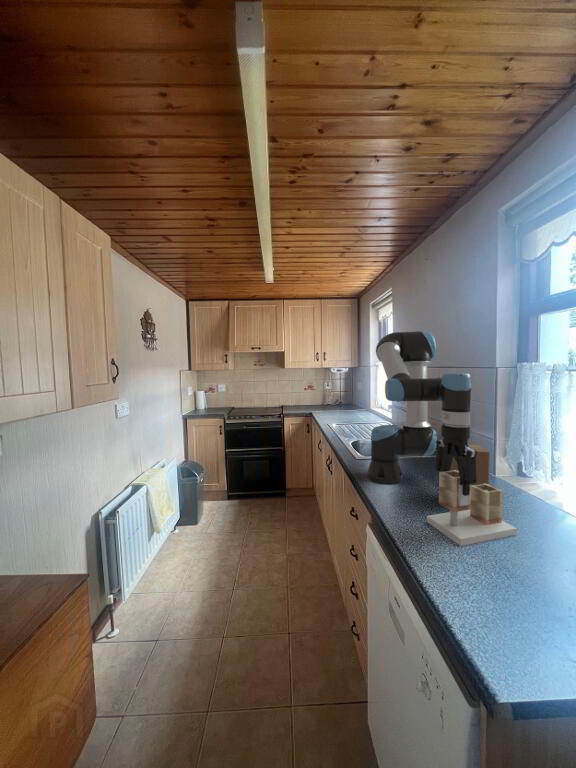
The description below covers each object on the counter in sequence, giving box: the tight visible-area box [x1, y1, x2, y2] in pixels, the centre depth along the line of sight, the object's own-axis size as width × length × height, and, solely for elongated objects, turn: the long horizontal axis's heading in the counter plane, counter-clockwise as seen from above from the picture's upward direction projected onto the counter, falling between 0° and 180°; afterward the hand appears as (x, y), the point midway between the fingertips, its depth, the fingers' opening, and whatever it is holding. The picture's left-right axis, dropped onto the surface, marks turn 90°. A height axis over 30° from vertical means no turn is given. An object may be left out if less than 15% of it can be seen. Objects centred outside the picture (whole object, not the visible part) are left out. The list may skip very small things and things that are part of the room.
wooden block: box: [450, 443, 490, 486], centre depth 116 cm, size 10×10×20 cm
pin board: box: [426, 490, 518, 547], centre depth 97 cm, size 14×20×11 cm
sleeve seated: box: [470, 484, 504, 525], centre depth 99 cm, size 6×6×10 cm
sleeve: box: [438, 470, 471, 512], centre depth 95 cm, size 6×6×10 cm
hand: (454, 500), depth 95 cm, fingers closed on sleeve, 6 cm apart
